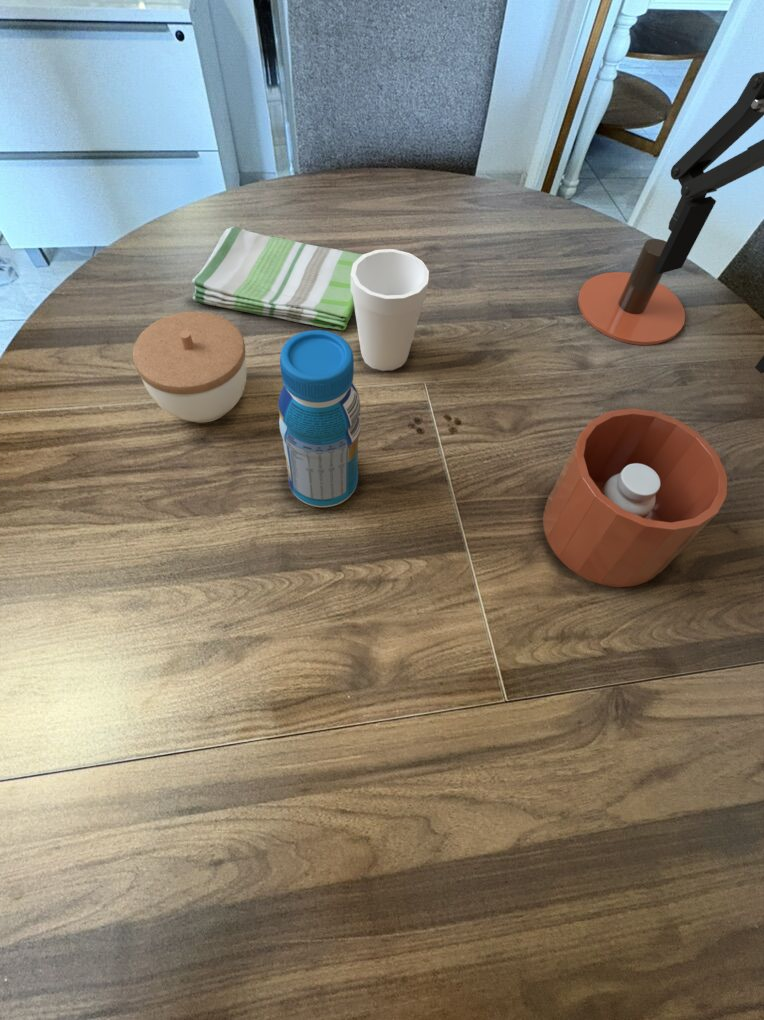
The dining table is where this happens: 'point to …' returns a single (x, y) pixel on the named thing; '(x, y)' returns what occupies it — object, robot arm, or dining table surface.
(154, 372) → the lidded bowl
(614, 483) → the supplement bottle
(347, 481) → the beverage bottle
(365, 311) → the foam cup
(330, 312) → the dish towel
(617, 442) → the jar
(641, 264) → the lid
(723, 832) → the dining table surface
